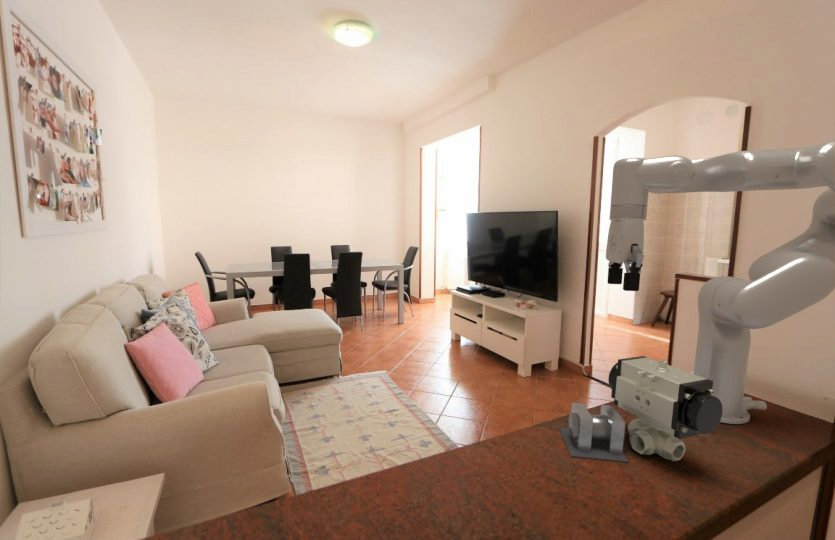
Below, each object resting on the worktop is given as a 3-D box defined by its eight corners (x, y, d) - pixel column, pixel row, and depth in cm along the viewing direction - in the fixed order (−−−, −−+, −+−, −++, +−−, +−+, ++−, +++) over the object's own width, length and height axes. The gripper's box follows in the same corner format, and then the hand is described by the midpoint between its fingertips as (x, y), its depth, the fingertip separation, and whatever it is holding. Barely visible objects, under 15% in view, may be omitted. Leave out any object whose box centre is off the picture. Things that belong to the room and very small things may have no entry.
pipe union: (613, 436, 80) (616, 406, 79) (625, 455, 73) (628, 422, 73) (566, 432, 81) (569, 402, 80) (574, 450, 75) (577, 417, 74)
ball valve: (597, 430, 83) (604, 348, 80) (628, 424, 86) (635, 344, 83) (682, 484, 66) (693, 382, 64) (716, 474, 69) (728, 376, 67)
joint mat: (609, 433, 82) (609, 432, 81) (628, 462, 72) (628, 461, 72) (559, 429, 83) (559, 427, 83) (570, 457, 73) (571, 455, 73)
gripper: (598, 214, 100) (593, 281, 102) (625, 212, 83) (619, 293, 85) (629, 214, 100) (624, 282, 102) (663, 213, 82) (656, 294, 85)
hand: (622, 287), depth 94 cm, fingers open, 9 cm apart
